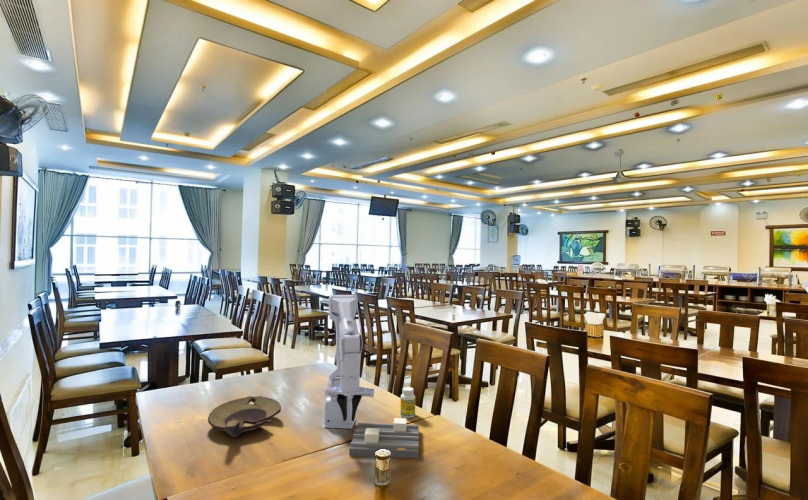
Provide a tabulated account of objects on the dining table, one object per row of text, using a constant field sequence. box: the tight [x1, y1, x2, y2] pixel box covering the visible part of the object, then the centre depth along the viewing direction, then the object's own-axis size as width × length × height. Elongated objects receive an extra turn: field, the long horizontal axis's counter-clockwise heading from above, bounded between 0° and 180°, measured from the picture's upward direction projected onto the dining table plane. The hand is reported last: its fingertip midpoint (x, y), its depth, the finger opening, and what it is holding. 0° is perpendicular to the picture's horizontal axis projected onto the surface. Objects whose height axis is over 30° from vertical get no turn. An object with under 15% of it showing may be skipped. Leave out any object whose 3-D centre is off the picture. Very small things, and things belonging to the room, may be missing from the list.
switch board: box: [348, 422, 420, 459], centre depth 123 cm, size 20×17×3 cm
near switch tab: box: [364, 428, 379, 443], centre depth 119 cm, size 4×4×3 cm
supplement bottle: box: [399, 386, 416, 419], centre depth 143 cm, size 5×5×10 cm
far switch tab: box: [392, 417, 408, 432], centre depth 126 cm, size 4×4×3 cm
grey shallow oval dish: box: [207, 395, 282, 438], centre depth 131 cm, size 22×30×8 cm
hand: (349, 419), depth 119 cm, fingers closed
